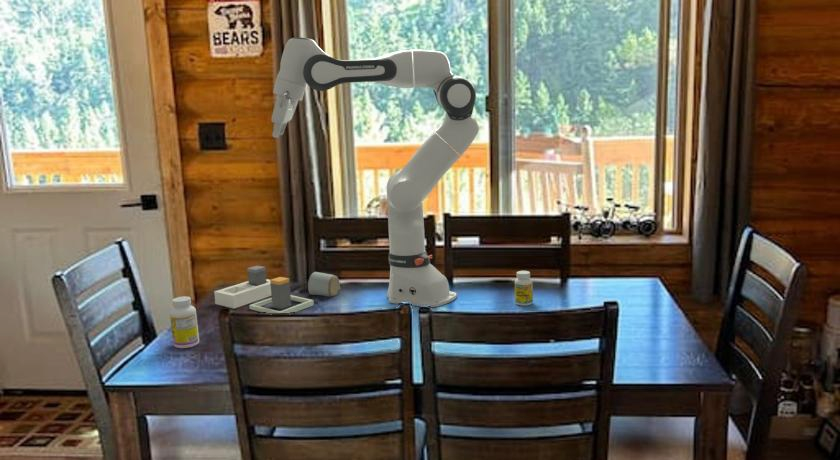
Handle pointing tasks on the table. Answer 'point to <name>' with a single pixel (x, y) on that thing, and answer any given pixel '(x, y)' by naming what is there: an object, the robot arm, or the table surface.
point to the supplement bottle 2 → (523, 288)
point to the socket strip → (242, 294)
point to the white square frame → (303, 305)
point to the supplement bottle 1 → (184, 323)
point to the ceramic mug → (323, 284)
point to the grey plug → (280, 292)
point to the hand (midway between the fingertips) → (277, 136)
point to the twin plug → (256, 275)
